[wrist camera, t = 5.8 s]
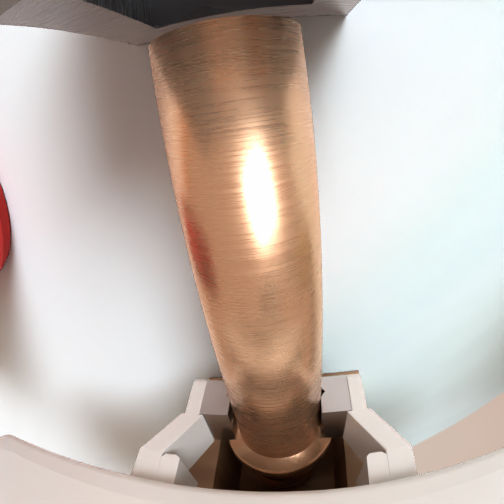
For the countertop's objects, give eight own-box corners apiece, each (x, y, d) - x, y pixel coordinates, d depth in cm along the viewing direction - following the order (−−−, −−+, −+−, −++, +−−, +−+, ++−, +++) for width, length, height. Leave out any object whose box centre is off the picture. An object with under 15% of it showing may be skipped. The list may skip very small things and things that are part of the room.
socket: (358, 370, 14) (379, 501, 8) (347, 431, 17) (356, 530, 11) (209, 377, 15) (181, 503, 9) (231, 435, 18) (216, 532, 12)
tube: (314, 40, 7) (344, -1, 3) (325, 427, 14) (329, 496, 11) (163, 63, 7) (81, 50, 4) (246, 429, 15) (238, 498, 11)
